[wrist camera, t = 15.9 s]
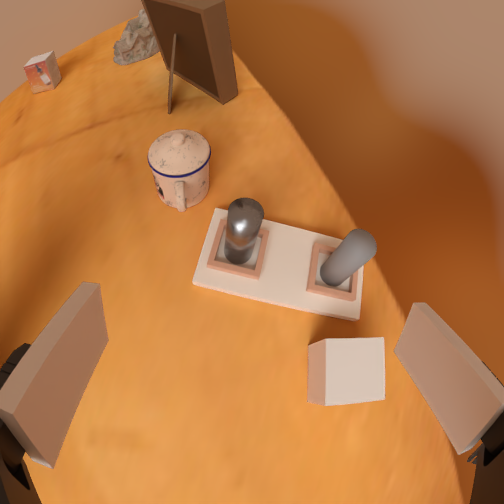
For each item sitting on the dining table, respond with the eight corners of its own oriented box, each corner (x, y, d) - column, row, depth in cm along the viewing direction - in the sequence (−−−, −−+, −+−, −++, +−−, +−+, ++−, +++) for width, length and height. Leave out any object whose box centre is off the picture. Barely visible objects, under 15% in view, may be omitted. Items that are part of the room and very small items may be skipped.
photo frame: (180, 63, 63) (178, -21, 40) (237, 97, 58) (249, -4, 36) (131, 86, 58) (116, -3, 35) (183, 126, 53) (176, 11, 30)
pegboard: (193, 284, 41) (185, 250, 30) (215, 212, 46) (216, 164, 35) (354, 321, 41) (396, 300, 31) (360, 249, 46) (395, 213, 36)
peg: (220, 259, 41) (223, 222, 32) (228, 235, 43) (233, 193, 34) (248, 267, 41) (259, 232, 32) (255, 242, 43) (267, 203, 34)
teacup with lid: (157, 169, 48) (147, 119, 38) (208, 164, 50) (209, 113, 39) (155, 229, 43) (139, 183, 33) (214, 224, 45) (214, 176, 34)
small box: (33, 94, 56) (22, 67, 46) (41, 83, 58) (31, 56, 49) (54, 89, 57) (44, 60, 47) (62, 78, 59) (53, 50, 50)
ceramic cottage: (148, 35, 71) (143, -2, 56) (171, 51, 67) (168, 8, 53) (104, 54, 66) (94, 17, 52) (122, 72, 63) (112, 29, 49)
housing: (307, 401, 36) (325, 405, 29) (308, 345, 39) (325, 338, 33) (359, 398, 36) (384, 399, 30) (359, 344, 40) (383, 337, 33)
